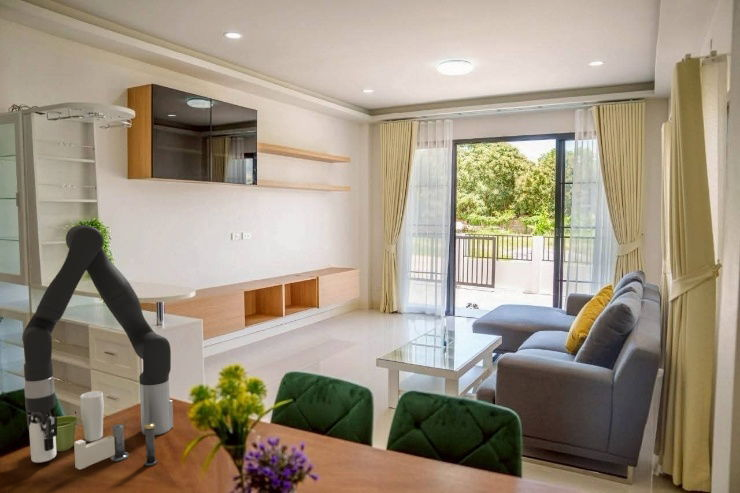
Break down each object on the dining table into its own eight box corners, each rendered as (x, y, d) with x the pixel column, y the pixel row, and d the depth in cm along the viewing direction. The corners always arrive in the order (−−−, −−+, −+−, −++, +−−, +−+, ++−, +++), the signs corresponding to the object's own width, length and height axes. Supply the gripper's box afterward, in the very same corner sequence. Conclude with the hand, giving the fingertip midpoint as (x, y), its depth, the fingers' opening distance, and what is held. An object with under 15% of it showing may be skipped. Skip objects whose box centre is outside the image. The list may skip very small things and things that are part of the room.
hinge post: (122, 452, 162) (121, 421, 161) (132, 456, 159) (130, 424, 159) (107, 458, 158) (105, 426, 157) (116, 463, 155) (114, 430, 154)
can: (30, 465, 152) (27, 425, 151) (32, 456, 157) (30, 417, 156) (55, 460, 155) (53, 420, 154) (57, 451, 160) (55, 413, 159)
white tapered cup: (95, 443, 168) (93, 398, 167) (77, 442, 170) (74, 397, 168) (110, 435, 175) (107, 391, 174) (92, 433, 176) (90, 390, 175)
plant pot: (41, 448, 166) (39, 421, 165) (73, 438, 172) (72, 413, 172) (50, 457, 159) (48, 430, 159) (83, 447, 166) (82, 420, 165)
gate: (110, 452, 158) (109, 428, 157) (115, 454, 156) (114, 430, 156) (75, 467, 149) (74, 442, 148) (79, 469, 147) (78, 444, 147)
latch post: (152, 459, 157) (151, 421, 156) (160, 462, 155) (158, 424, 154) (141, 464, 154) (140, 425, 153) (149, 467, 152) (147, 428, 151)
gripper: (65, 393, 154) (68, 448, 155) (41, 384, 162) (44, 436, 163) (38, 401, 147) (41, 458, 149) (14, 392, 155) (18, 446, 157)
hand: (43, 446), depth 156 cm, fingers closed on can, 6 cm apart
